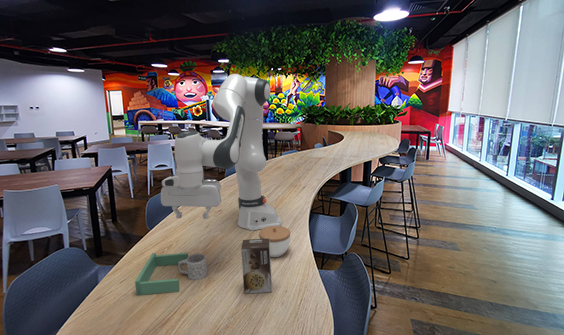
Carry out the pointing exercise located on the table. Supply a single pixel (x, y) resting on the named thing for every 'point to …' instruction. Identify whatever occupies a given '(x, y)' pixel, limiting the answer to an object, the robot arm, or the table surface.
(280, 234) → the lidded bowl
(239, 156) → the robot arm
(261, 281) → the brown food box
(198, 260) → the mug
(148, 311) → the table surface
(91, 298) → the table surface
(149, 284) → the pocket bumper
